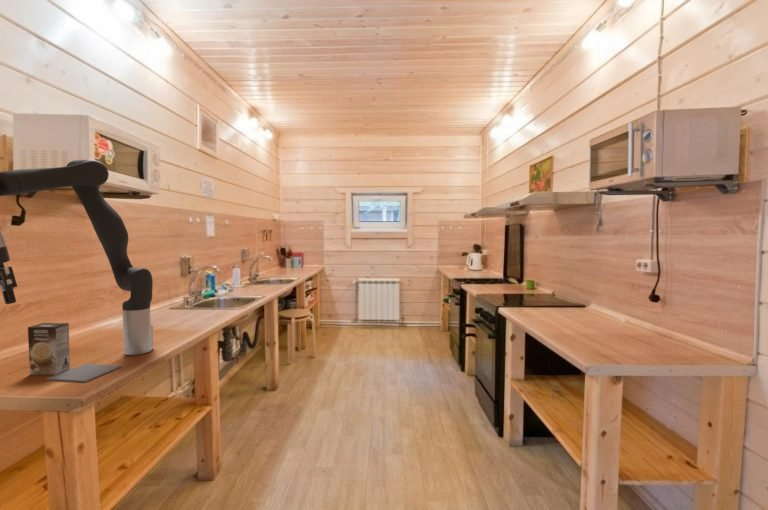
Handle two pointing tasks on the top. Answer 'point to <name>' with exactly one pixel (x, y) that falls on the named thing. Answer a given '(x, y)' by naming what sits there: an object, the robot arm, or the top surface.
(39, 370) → the coffee box
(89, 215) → the robot arm
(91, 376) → the mat
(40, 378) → the top surface
